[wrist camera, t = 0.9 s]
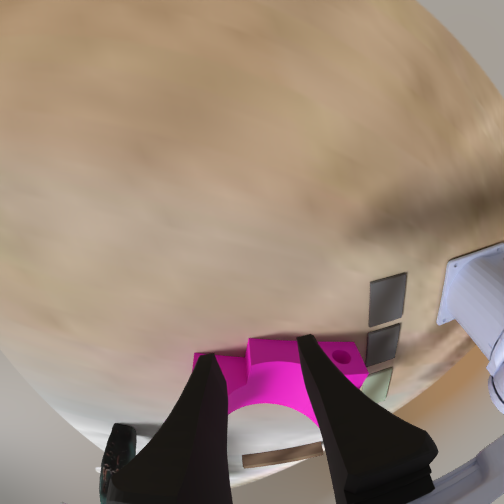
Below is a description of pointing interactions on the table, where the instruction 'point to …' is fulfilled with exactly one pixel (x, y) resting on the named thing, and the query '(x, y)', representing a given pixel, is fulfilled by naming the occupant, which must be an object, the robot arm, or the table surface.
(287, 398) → the toy block
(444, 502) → the robot arm
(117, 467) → the ceramic cat
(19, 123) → the table surface
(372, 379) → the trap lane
